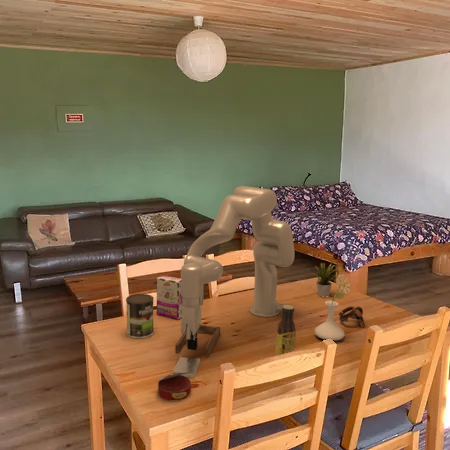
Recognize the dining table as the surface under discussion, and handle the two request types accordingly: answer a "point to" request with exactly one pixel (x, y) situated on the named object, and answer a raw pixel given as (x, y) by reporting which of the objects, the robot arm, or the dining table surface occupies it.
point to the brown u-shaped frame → (205, 330)
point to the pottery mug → (352, 314)
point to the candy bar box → (169, 297)
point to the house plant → (325, 280)
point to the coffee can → (139, 316)
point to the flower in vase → (330, 327)
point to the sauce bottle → (285, 331)
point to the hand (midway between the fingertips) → (192, 348)
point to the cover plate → (187, 366)
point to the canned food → (174, 387)
